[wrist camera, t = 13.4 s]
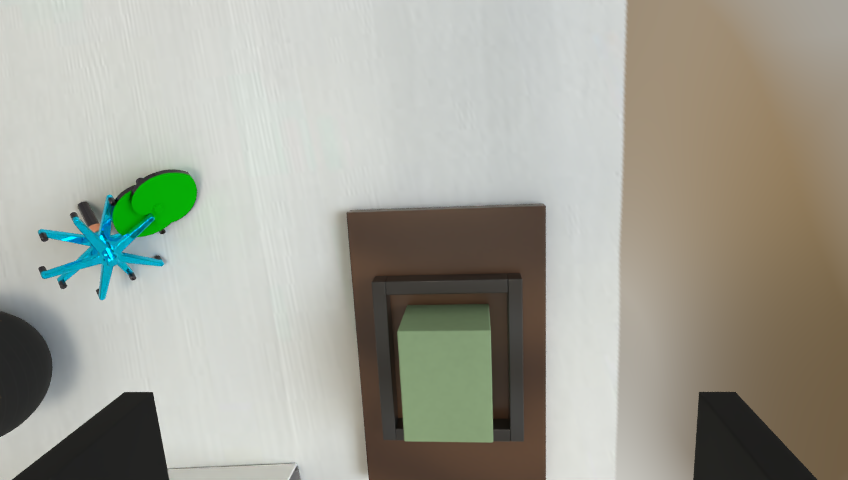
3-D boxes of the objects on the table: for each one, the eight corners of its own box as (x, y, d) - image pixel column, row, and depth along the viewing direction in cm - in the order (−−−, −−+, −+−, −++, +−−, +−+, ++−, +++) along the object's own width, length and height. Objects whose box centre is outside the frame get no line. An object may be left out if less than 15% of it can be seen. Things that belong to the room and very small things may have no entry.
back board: (349, 210, 38) (341, 216, 36) (543, 203, 37) (548, 209, 35) (371, 473, 43) (365, 494, 41) (544, 476, 42) (548, 498, 39)
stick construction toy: (114, 318, 40) (12, 285, 33) (87, 261, 43) (-11, 220, 36) (232, 209, 40) (156, 155, 34) (195, 161, 44) (120, 103, 37)
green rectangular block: (406, 304, 39) (396, 331, 34) (488, 303, 38) (490, 330, 33) (412, 403, 40) (404, 441, 35) (491, 403, 40) (493, 443, 35)
